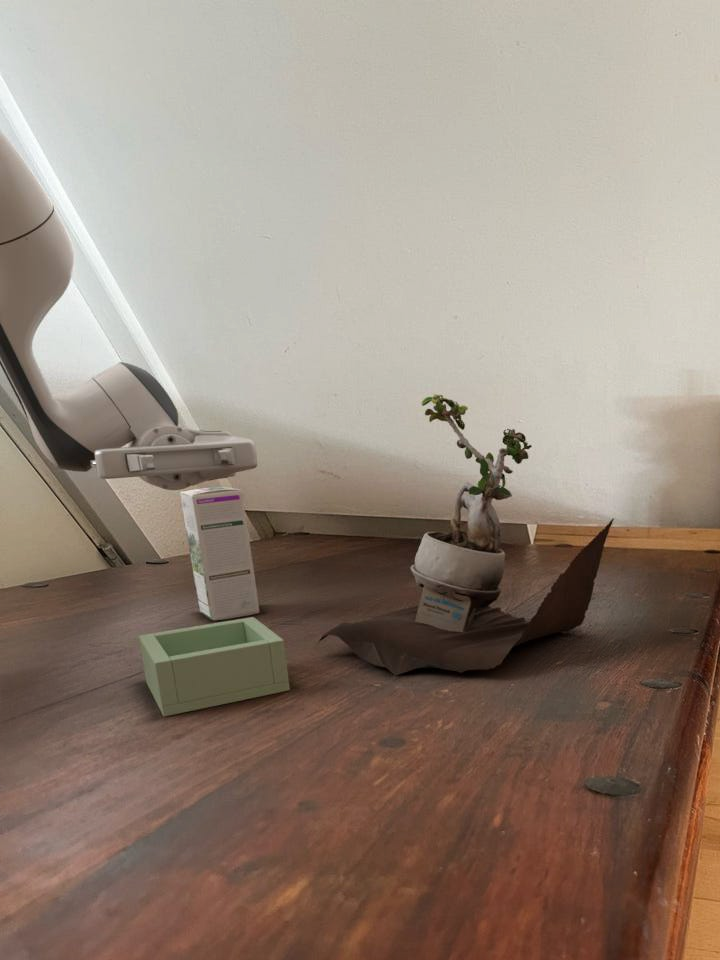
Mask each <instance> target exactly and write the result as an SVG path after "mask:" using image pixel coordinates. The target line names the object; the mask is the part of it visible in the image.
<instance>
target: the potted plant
mask: <svg viewBox="0 0 720 960" xmlns="http://www.w3.org/2000/svg"><path fill="white" fill-rule="evenodd" d="M430 402H431V403H432V404H433V408H432V409H431V408H426V410H425V411H424V416H426V417H427V416H429V418H428V419H429V421H428V422H429V423H431V422H433V421H434V420H438V421H441V422H447V424H449V426H450V427H451V428H452V430H453V432H454V433H455V434H456V435H457V437H458V438H459V439H458V440H457V441H456V446H457V447H458V448H459V449H465V450H464V456H465V459H467V460H469V459H471V458H472V457H473V456H474V458H475V462H476V463H477V464H479V466H480V467H479V474H480V475H481V478H480V479H479V481H478V482H477V486H476V485H474V484H473V483H471V482H469V481H465V482H464V483H463V484H462V485H461V487H460V488H459V490H458V492H457V494H456V498H455V502H454V503H455V505H454V511H453V513H452V514H451V516H450V525H451V528H452V531H450V532H440V531H428V532H427V531H426V532H425V533H424V534H423V537H422V539H421V541H420V545H419V546H418V550H417V552H416V553H415V557H414V564H412V565H411V566H410V571H411V572H412V574H413V577H414V579H415V583H416V584H417V585H418V586H419V587H421V588H422V593H421V597H420V600H419V603H418V604H416V605H411V606H407V607H404V608H401V609H397V610H393V611H390V612H387V613H384V614H380V615H377V616H376V615H375V616H372V617H371V618H368V619H363V620H358V621H354V622H341V623H340V624H338V625H336V626H335V627H333V628H332V629H330V630H328V631H327V632H325V633H323V634H322V636H321V637H320V639H319V640H318V641H317V644H316V645H315V647H317V646H318V644H319V643H320V642H322V641H323V640H324V639H326V638H327V637H329V636H334V637H337V638H339V639H340V640H341V641H343V642H344V643H345V644H346V645H347V646H348V647H349V648H350V649H351V650H352V651H353V653H354V654H356V655H357V657H358V658H360V659H362V660H364V661H365V662H368V663H370V664H372V665H374V666H377V667H381V668H382V667H383V668H385V669H387V670H388V671H389V672H390V673H392V675H394V676H398V675H402V674H405V673H407V672H411V671H413V670H416V669H442V670H445V671H453V672H458V673H460V674H462V673H464V672H466V671H474V670H475V671H476V670H491V669H495V668H496V666H500V665H502V663H503V662H504V659H505V658H506V657H507V655H509V653H510V651H511V650H512V648H514V647H516V646H518V645H520V644H524V643H527V642H530V641H532V640H535V639H536V640H537V639H538V638H542V637H545V636H550V635H554V634H559V633H565V632H566V633H567V632H570V631H572V630H574V629H576V628H577V627H579V626H582V624H583V623H584V621H585V618H586V613H587V611H588V610H589V606H590V603H591V600H592V596H593V592H594V586H595V580H596V578H597V575H598V572H599V568H600V564H601V559H602V557H603V556H602V555H603V551H604V548H605V543H606V542H607V541H606V540H607V537H608V535H609V533H610V529H611V527H612V525H613V521H614V520H615V518H612V519H611V520H610V521H609V522H608V524H606V525H605V527H604V528H603V529H602V530H600V531H599V532H598V533H597V535H596V536H595V537H594V538H592V540H590V542H588V544H586V545H585V546H584V547H583V548H581V550H580V552H578V553H577V555H575V557H574V558H573V559H572V561H570V563H569V565H568V566H567V567H566V569H565V571H564V572H562V573H560V574H559V576H558V578H557V579H556V581H554V582H553V585H552V586H550V592H547V595H546V596H545V597H543V601H542V602H541V604H540V605H539V606H538V608H537V611H536V613H535V614H534V616H532V617H531V619H530V621H527V620H526V619H525V617H524V616H523V617H522V616H521V617H517V616H513V615H512V614H511V613H505V612H504V611H502V608H501V607H499V606H498V607H492V606H490V605H491V604H493V603H495V602H496V601H497V600H498V598H499V597H500V595H501V592H502V589H501V587H500V584H501V582H502V579H503V577H504V572H505V559H506V553H505V551H503V549H501V548H499V547H500V546H501V542H502V533H503V532H502V526H501V525H502V524H501V522H500V519H499V517H498V514H497V511H496V509H495V507H494V506H493V505H492V503H493V500H496V501H503V500H507V499H510V498H511V497H513V494H512V492H511V491H510V490H509V489H507V488H505V487H506V483H507V481H506V475H505V474H508V475H509V474H510V475H511V474H512V473H513V472H514V470H513V469H510V467H509V466H506V465H505V457H507V456H509V457H510V456H511V460H514V462H515V463H516V464H517V465H520V464H522V461H523V460H528V459H529V453H528V451H526V450H530V449H531V448H532V447H533V445H532V444H529V443H528V441H527V437H526V435H525V434H524V433H522V432H520V431H519V432H516V430H515V429H514V428H512V429H510V428H506V429H504V430H503V437H502V444H504V445H505V446H506V447H505V448H504V447H503V448H502V447H501V448H500V449H499V450H498V453H497V459H496V461H495V458H494V455H493V454H492V453H491V452H487V454H486V456H485V455H483V454H482V453H481V452H480V451H478V450H477V449H476V448H475V447H474V446H472V444H471V443H470V441H469V440H468V439H467V438H466V437H465V436H464V434H463V433H462V432H461V431H460V430H462V431H464V430H465V427H466V423H465V422H464V421H463V419H462V416H465V414H466V411H468V408H469V407H468V406H466V405H461V406H460V405H459V403H458V401H454V400H452V399H448V398H447V397H444V395H442V394H436V393H434V394H433V395H432V396H428V397H427V396H426V398H423V399H422V401H421V406H423V407H424V406H426V405H428V404H429V403H430ZM447 406H448V407H449V408H450V410H447ZM506 431H507V432H506ZM521 443H522V444H523V447H522V445H521ZM494 461H495V464H494ZM503 472H504V473H503ZM501 480H502V485H500V484H501ZM466 492H467V493H468V495H467V494H465V495H464V493H466ZM462 508H464V509H466V510H467V512H468V517H467V531H466V530H463V529H461V526H462V525H461V524H462Z"/></svg>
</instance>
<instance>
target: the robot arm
mask: <svg viewBox="0 0 720 960" xmlns="http://www.w3.org/2000/svg"><path fill="white" fill-rule="evenodd" d="M75 265H76V249H75V246H74V243H73V241H72V239H71V236H70V234H69V232H68V230H67V228H66V226H65V224H64V221H63V220H62V217H61V216H60V214H59V212H58V211H57V209H56V207H55V205H54V203H53V202H52V200H51V198H50V197H49V195H48V193H47V192H46V190H45V189H44V187H43V186H42V184H41V183H40V181H39V179H38V178H37V176H36V175H35V173H34V172H33V171H32V169H31V167H30V166H29V165H28V163H27V162H26V161H25V159H24V158H23V156H22V155H21V153H20V152H19V151H18V150H17V149H16V146H14V145H13V143H12V142H11V141H10V140H9V138H7V136H6V135H5V134H4V132H3V131H2V129H0V367H1V369H2V371H3V373H4V375H5V377H6V379H7V381H8V383H9V385H10V387H11V389H12V391H13V393H14V396H15V397H16V398H17V401H18V402H19V405H20V406H21V408H22V410H23V413H24V415H25V417H26V419H27V422H28V424H29V427H30V431H31V434H32V437H33V439H34V441H35V443H36V445H37V447H38V448H39V450H40V452H41V453H42V454H43V455H44V457H45V458H47V460H48V461H50V463H52V464H53V465H55V466H56V467H57V468H58V469H60V470H65V471H71V472H79V473H81V472H82V473H87V472H89V471H90V470H92V469H93V468H96V471H97V476H98V478H99V479H102V480H112V479H124V478H140V480H142V481H143V482H145V483H147V484H148V485H151V486H155V487H157V488H160V489H163V490H167V491H179V490H180V491H181V490H185V489H187V488H189V487H193V486H197V485H199V484H203V483H205V482H210V481H214V480H221V479H228V478H233V477H235V476H236V475H237V473H240V472H245V471H246V472H247V471H251V470H253V469H256V468H257V467H258V455H257V454H258V453H257V448H256V443H255V442H254V440H253V439H250V438H246V437H241V436H236V435H234V436H233V435H232V434H231V432H230V431H222V430H203V429H202V430H197V429H192V428H188V427H183V426H182V427H180V426H179V413H178V410H177V408H176V406H175V404H174V401H172V398H171V397H170V395H169V394H168V393H167V391H166V390H165V388H164V387H163V385H161V383H160V382H159V381H158V380H157V379H156V378H155V377H154V376H153V375H152V374H151V373H150V372H149V371H147V370H145V369H144V368H142V367H139V366H137V365H134V364H132V363H128V362H123V361H122V362H121V361H119V362H118V363H116V364H114V365H112V366H110V367H109V368H107V369H104V370H103V371H100V373H97V374H96V375H95V376H92V377H91V378H90V379H88V380H87V381H85V382H83V383H81V384H80V385H78V386H76V387H74V388H73V389H70V390H69V391H67V392H65V393H63V394H61V395H59V396H53V393H52V392H51V389H50V387H49V385H48V383H47V381H46V378H45V377H44V374H43V372H42V370H41V368H40V366H39V364H38V362H37V360H36V358H35V355H34V351H33V341H34V337H35V335H36V332H37V330H38V328H39V326H40V325H41V323H42V322H43V320H44V319H45V317H46V316H47V314H49V312H50V311H51V310H52V308H53V307H54V306H55V305H56V304H57V302H58V301H60V299H61V298H62V297H63V295H64V294H65V292H66V291H67V289H68V287H69V286H70V283H71V281H72V279H73V275H74V271H75ZM126 445H128V446H127V447H126ZM124 446H125V447H124Z"/></svg>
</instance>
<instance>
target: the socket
mask: <svg viewBox="0 0 720 960" xmlns="http://www.w3.org/2000/svg"><path fill="white" fill-rule="evenodd" d="M137 638H138V642H139V649H140V654H141V659H142V666H143V671H144V677H145V683H146V685H147V687H148V688H149V691H150V693H151V695H152V697H153V698H154V700H155V702H156V705H157V707H158V709H159V711H160V712H161V714H162V716H163V717H169V716H175V715H179V714H184V713H189V712H193V711H197V710H202V709H207V708H212V707H217V706H221V705H222V706H223V705H226V704H231V703H235V702H241V701H245V700H251V699H254V698H259V697H265V696H269V695H273V694H274V695H275V694H279V693H283V692H289V691H291V687H290V681H289V671H288V664H287V654H286V647H285V645H286V644H285V640H284V639H283V638H282V637H280V636H279V635H278V634H277V633H275V632H274V631H272V630H271V629H270V628H268V627H267V626H266V625H264V624H263V623H262V622H260V621H259V620H258V619H256V618H255V617H254V616H251V617H245V618H238V619H233V620H226V621H219V622H214V623H207V624H200V625H195V626H189V627H181V628H176V629H170V630H164V631H158V632H153V633H146V634H140V635H138V636H137Z"/></svg>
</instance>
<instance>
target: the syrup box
mask: <svg viewBox="0 0 720 960" xmlns="http://www.w3.org/2000/svg"><path fill="white" fill-rule="evenodd" d="M179 494H180V501H181V507H182V514H183V519H184V520H183V521H184V526H185V533H186V538H187V543H188V549H189V556H190V561H191V567H192V574H193V581H194V587H195V593H196V598H197V603H198V604H197V605H198V609H199V613H200V614H202V615H203V616H205V617H206V618H208V619H210V620H212V621H214V622H215V621H223V620H230V619H235V618H240V617H241V618H242V617H247V616H251V615H256V614H259V613H260V607H259V606H260V605H259V600H258V599H259V597H258V592H257V584H256V577H255V570H254V569H255V568H254V562H253V556H252V549H251V544H250V537H249V536H250V535H249V530H248V524H247V523H248V522H247V517H246V510H245V504H244V503H245V502H244V495H243V491H242V489H240V488H232V487H223V486H221V487H218V486H217V487H215V486H214V487H201V488H196V489H189V490H185V491H180V493H179Z"/></svg>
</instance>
